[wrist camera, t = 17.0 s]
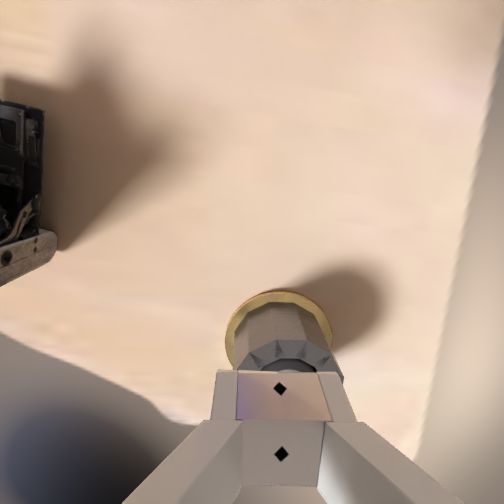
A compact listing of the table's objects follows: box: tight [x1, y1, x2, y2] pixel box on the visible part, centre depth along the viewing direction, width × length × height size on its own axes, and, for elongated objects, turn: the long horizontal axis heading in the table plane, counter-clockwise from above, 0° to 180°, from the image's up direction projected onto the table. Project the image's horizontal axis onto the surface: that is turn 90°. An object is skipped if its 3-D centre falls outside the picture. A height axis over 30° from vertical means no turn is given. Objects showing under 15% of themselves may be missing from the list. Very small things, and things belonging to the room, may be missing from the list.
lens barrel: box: [225, 291, 344, 385], centre depth 37 cm, size 13×13×9 cm
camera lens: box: [260, 358, 314, 372], centre depth 34 cm, size 6×6×4 cm
